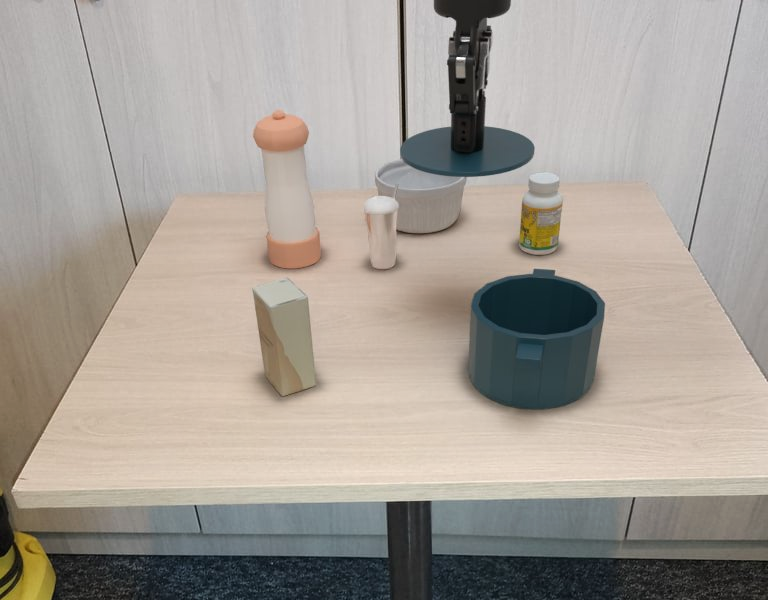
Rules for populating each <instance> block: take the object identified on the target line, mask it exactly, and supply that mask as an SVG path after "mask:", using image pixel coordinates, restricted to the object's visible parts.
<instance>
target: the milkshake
mask: <svg viewBox="0 0 768 600" xmlns="http://www.w3.org/2000/svg"><path fill="white" fill-rule="evenodd" d="M397 189H398V184H396V186H395V190H394V194H393V198H391V197H387V196H378V195H374V196H371V197H370V198H368V199H367V200H365V201H364V203H363V212H364V218H365V225H366V232H367V239H368V248H369V249H368V250H369V256H370V264H371V266H372V267H373V268H374V269H377V270H389V269H391V268H393V267H395V265H396V259H397V258H396V257H397V238H398V237H397V236H398V230H397V222H398V208H399V204H398V202H397V201H396V200H395V197H396V193H397Z"/></svg>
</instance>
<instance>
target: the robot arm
mask: <svg viewBox="0 0 768 600" xmlns="http://www.w3.org/2000/svg"><path fill="white" fill-rule="evenodd" d="M511 4H512V0H433V10H434V12H435V14H437V15H438V16H440V17H442V18H446V19H448V18H449V19H453V20H454V21H455V28H454V30H453V32H452V36H449V38H448V46H447V47H448V49H447V55H448V57H447V59H446V65H447V74H448V75H447V76H448V78H447V79H448V97H449V99H448V100H449V104H448V110H449V114H451V113H453V115H455V116H454V150H455V151H456V152H467V153H471V152H473V150H474V148H475V139H476V115H477V112H478V108H479V107H478V94H481V95H484V96H485V97H486V89H487V86H488V84H489V82H488V81H489V80H488V77H489V73H490V60H491V59H490V58H491V57H490V56H491V51H492V47H493V39H494V38H493V36H494V33H493V29H492V25H488V19H493V18H498V17H501V16H503V15H505V14H506V13H508V11H510V8H511V6H512V5H511ZM459 94H467V95H468V96H469V101H466V100H459Z"/></svg>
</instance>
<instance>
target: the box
mask: <svg viewBox="0 0 768 600" xmlns="http://www.w3.org/2000/svg"><path fill="white" fill-rule="evenodd" d="M252 295H253V302H254V308H255V316H256V323H257V331H258V338H259V344H260V350H261V358H262V365H263V371H264V376H265V377H266V379H267V380H268V382H269V383H270V384H271V385H272V386H273V388H275V390H276V392H277V393H279V395H280V396H281V397H285V396H288V395H292V394H294V393H297V392H301V391H304V390H307V389H309V388H312V387H316V386H317V380H316V372H315V371H316V370H315V357H314V348H313V337H312V327H311V326H312V325H311V317H310V306H309V305H310V304H309V296H308V295H307V294H306V292H304V291H303V290H302V289H301V288H300V287H299V286H298V285H297V284H296V283H295V282H294V281H293V280H292V279H290V278H289V277H283V278H280V279H277V280H274V281H270V282H267V283H263V284H259V285H256V286H253V287H252Z"/></svg>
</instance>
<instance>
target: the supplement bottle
mask: <svg viewBox="0 0 768 600" xmlns="http://www.w3.org/2000/svg"><path fill="white" fill-rule="evenodd" d="M560 182H561V177H560V176H559V175H558V174H555V173H554V172H553V173H552V172H546V171H545V172H541V171H540V172H536V173H532V174H531V175H529V177H528V184H527V187H528V190H527V191H526V192H525V193H524V194H523V196H522V201H521V210H520V211H521V213H520V224H519V227H520V228H519V238H518V239H519V241H518V246H519V248H520V249H521V250H522V251H523V252H524V253H527V254H529V255H535V256H544V255H549V254H551V253H554V252H555V251H556V250H557V249H558V246H559V239H560V229H561V221H562V212H563V202H564V199H563V195H562V194H561V193H560V192H559V191H558V190H559V189H560Z"/></svg>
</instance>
